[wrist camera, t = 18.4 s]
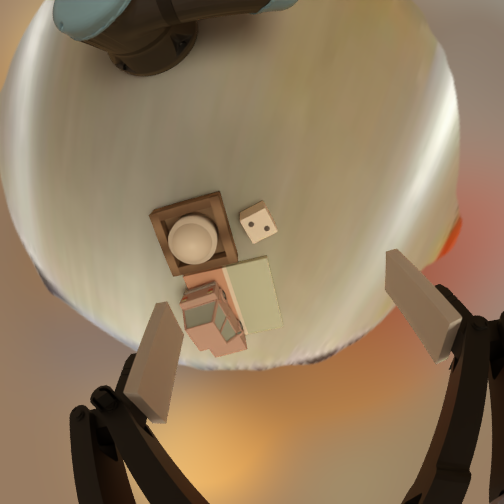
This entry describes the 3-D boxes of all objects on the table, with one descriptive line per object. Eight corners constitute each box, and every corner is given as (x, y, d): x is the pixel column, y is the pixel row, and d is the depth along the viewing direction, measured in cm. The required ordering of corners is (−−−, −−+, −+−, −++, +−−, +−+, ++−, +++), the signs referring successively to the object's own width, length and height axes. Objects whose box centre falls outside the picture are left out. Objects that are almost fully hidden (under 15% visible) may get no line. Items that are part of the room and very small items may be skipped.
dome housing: (154, 209, 45) (148, 215, 42) (219, 191, 44) (218, 195, 41) (176, 268, 50) (173, 276, 48) (237, 254, 49) (237, 262, 47)
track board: (184, 274, 51) (183, 276, 50) (266, 255, 50) (267, 257, 49) (211, 337, 58) (211, 340, 57) (282, 323, 57) (283, 327, 56)
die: (239, 212, 46) (239, 222, 42) (262, 200, 45) (265, 208, 41) (252, 233, 48) (253, 245, 43) (274, 221, 47) (278, 232, 43)
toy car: (212, 343, 58) (209, 377, 49) (178, 290, 51) (167, 323, 42) (252, 331, 56) (254, 367, 47) (222, 274, 50) (218, 308, 41)
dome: (166, 218, 45) (156, 233, 39) (210, 206, 44) (206, 220, 38) (181, 259, 48) (174, 278, 42) (223, 249, 48) (221, 267, 42)
